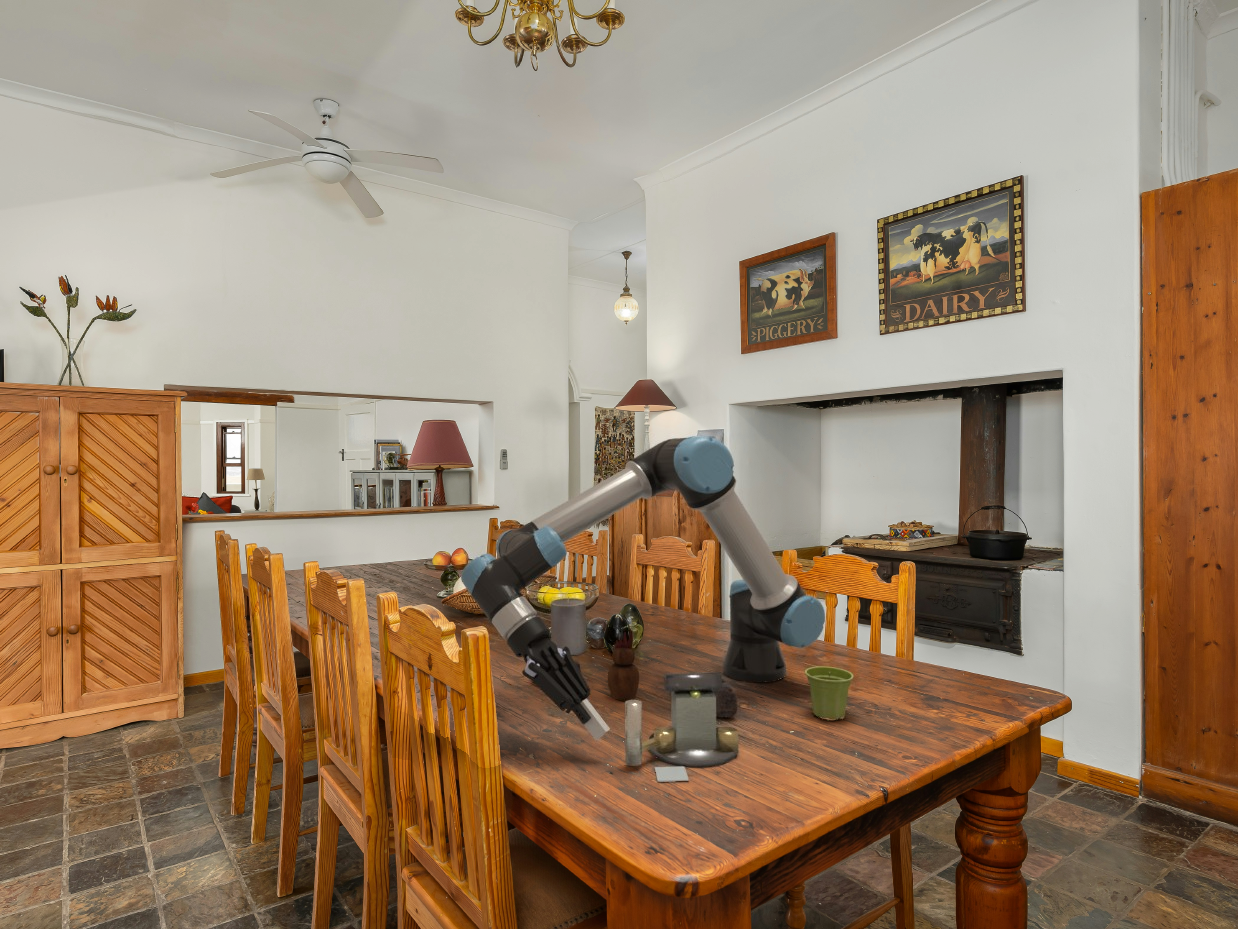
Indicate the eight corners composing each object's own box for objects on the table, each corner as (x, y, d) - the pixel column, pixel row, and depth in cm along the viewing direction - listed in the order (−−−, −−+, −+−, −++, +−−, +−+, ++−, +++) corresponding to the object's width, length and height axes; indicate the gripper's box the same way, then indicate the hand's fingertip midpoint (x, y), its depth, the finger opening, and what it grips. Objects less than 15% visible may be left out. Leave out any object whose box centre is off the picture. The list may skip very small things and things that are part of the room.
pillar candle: (566, 644, 193) (566, 592, 193) (593, 649, 188) (592, 595, 188) (543, 652, 185) (542, 598, 185) (571, 658, 180) (570, 602, 180)
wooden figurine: (643, 696, 149) (642, 628, 149) (632, 704, 144) (632, 634, 144) (615, 692, 152) (615, 625, 152) (604, 700, 147) (603, 631, 147)
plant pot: (853, 710, 140) (853, 668, 140) (853, 727, 131) (853, 682, 131) (806, 705, 143) (806, 664, 143) (803, 721, 134) (803, 677, 134)
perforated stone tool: (695, 698, 148) (695, 666, 148) (719, 697, 149) (719, 665, 149) (714, 724, 133) (714, 688, 133) (740, 722, 134) (739, 687, 134)
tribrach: (727, 729, 130) (727, 659, 131) (747, 766, 114) (747, 686, 114) (644, 731, 130) (644, 661, 130) (653, 768, 113) (653, 688, 113)
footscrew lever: (664, 745, 121) (664, 689, 121) (678, 751, 118) (678, 694, 118) (620, 760, 114) (620, 701, 114) (634, 768, 112) (633, 707, 112)
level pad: (684, 768, 114) (684, 766, 114) (688, 782, 109) (688, 780, 109) (654, 769, 113) (654, 767, 113) (657, 782, 108) (657, 781, 108)
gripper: (529, 633, 131) (606, 734, 123) (488, 649, 119) (570, 762, 112) (553, 608, 128) (633, 710, 121) (513, 622, 117) (599, 736, 109)
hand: (603, 735), depth 116 cm, fingers closed
